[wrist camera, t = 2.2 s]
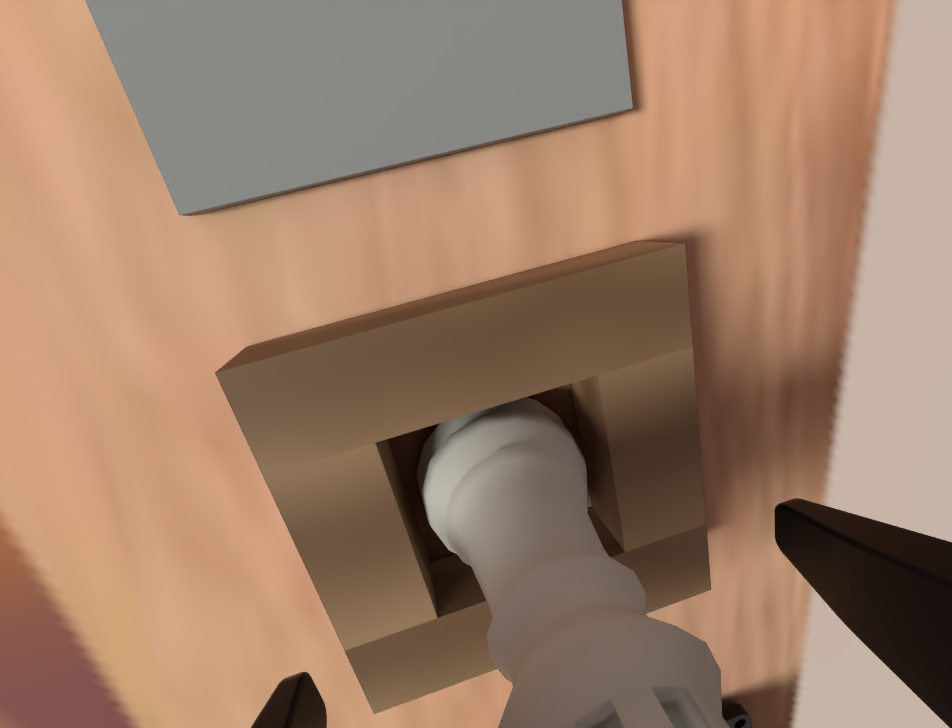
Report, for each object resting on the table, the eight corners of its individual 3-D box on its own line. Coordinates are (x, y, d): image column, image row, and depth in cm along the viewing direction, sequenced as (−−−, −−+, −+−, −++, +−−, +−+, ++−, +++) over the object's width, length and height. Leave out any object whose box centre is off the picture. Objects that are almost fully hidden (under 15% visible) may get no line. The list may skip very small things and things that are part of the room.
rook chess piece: (504, 354, 12) (714, 581, 4) (597, 458, 13) (873, 761, 6) (380, 465, 12) (369, 867, 4) (486, 554, 13) (609, 966, 6)
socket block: (669, 543, 15) (711, 589, 13) (376, 647, 14) (373, 714, 12) (636, 241, 11) (685, 242, 10) (246, 346, 10) (215, 372, 8)
